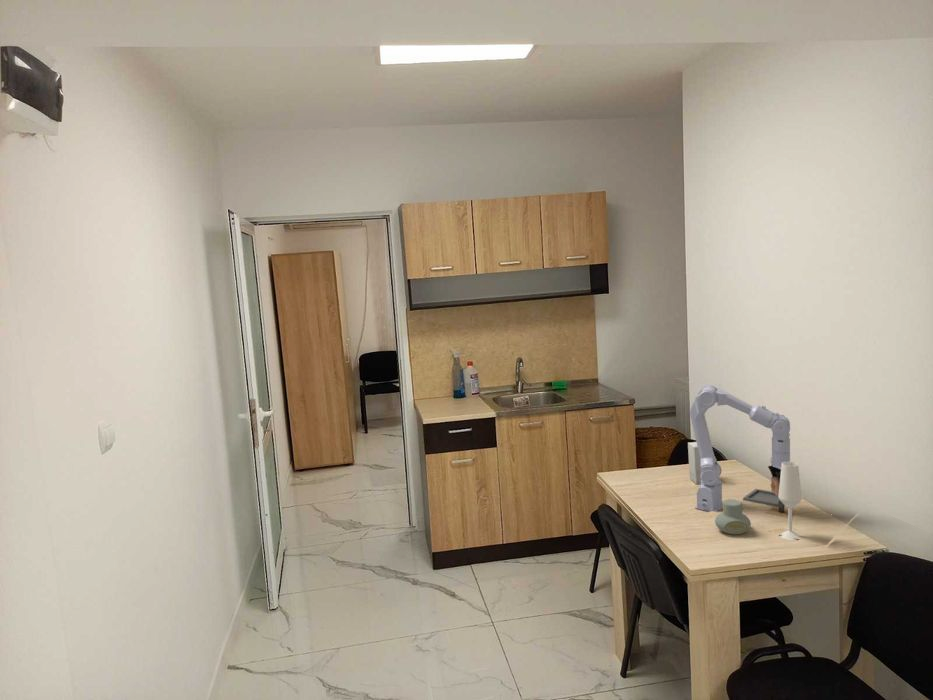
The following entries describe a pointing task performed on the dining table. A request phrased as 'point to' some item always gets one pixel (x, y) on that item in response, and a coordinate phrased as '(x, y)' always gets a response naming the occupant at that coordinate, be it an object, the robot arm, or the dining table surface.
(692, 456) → the skincare box
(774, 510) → the stand
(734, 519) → the air freshener
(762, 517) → the dining table surface
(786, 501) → the champagne flute
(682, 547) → the dining table surface
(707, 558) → the dining table surface
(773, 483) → the brown cube box
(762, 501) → the tray
